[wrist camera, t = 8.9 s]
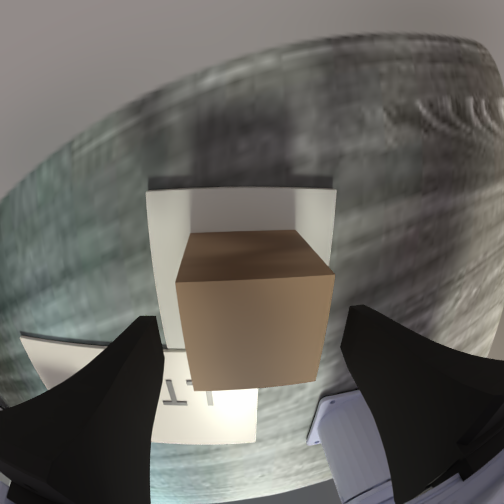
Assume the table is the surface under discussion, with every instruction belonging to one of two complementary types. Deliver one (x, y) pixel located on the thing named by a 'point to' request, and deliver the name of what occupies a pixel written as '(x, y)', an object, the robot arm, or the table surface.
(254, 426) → the mat
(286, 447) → the table surface
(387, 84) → the table surface
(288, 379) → the walnut block
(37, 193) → the table surface
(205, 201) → the white square plate
